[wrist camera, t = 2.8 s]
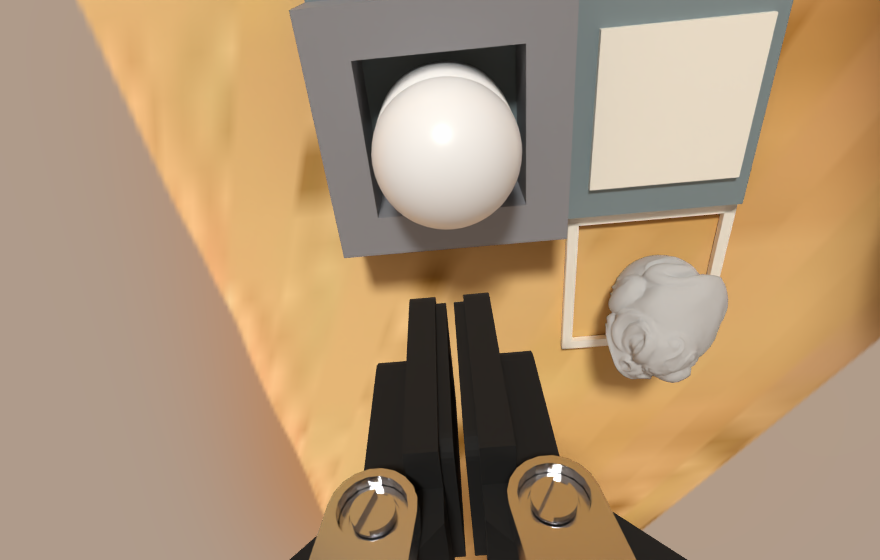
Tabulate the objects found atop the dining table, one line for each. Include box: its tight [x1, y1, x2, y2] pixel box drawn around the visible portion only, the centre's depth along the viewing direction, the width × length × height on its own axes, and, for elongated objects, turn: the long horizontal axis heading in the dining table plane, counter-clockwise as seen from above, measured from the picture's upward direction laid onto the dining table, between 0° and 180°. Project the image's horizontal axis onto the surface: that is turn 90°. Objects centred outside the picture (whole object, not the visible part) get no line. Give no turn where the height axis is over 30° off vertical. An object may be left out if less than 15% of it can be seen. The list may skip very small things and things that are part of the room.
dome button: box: [371, 61, 522, 230], centre depth 21 cm, size 6×6×6 cm
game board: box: [289, 0, 793, 349], centre depth 24 cm, size 31×21×5 cm
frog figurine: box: [605, 255, 728, 383], centre depth 29 cm, size 6×7×7 cm
